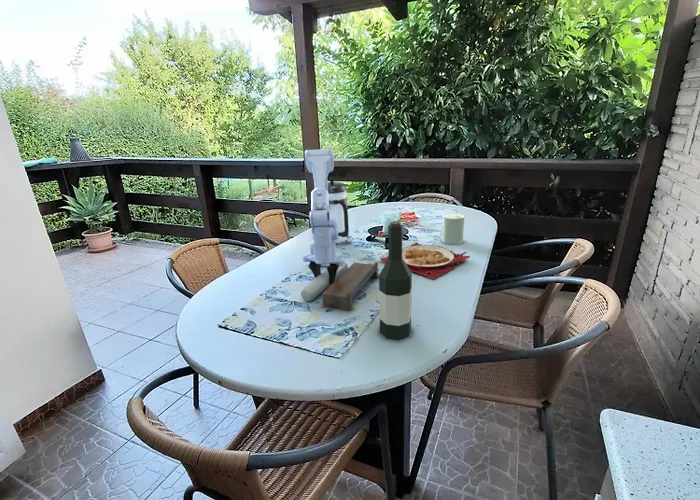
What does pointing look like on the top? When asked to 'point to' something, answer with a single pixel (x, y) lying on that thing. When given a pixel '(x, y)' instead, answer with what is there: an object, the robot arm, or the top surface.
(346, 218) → the coffee press
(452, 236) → the can
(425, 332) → the top surface
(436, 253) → the plate with food
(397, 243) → the wine bottle
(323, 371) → the top surface
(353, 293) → the wooden display stand
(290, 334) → the top surface
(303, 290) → the tube
